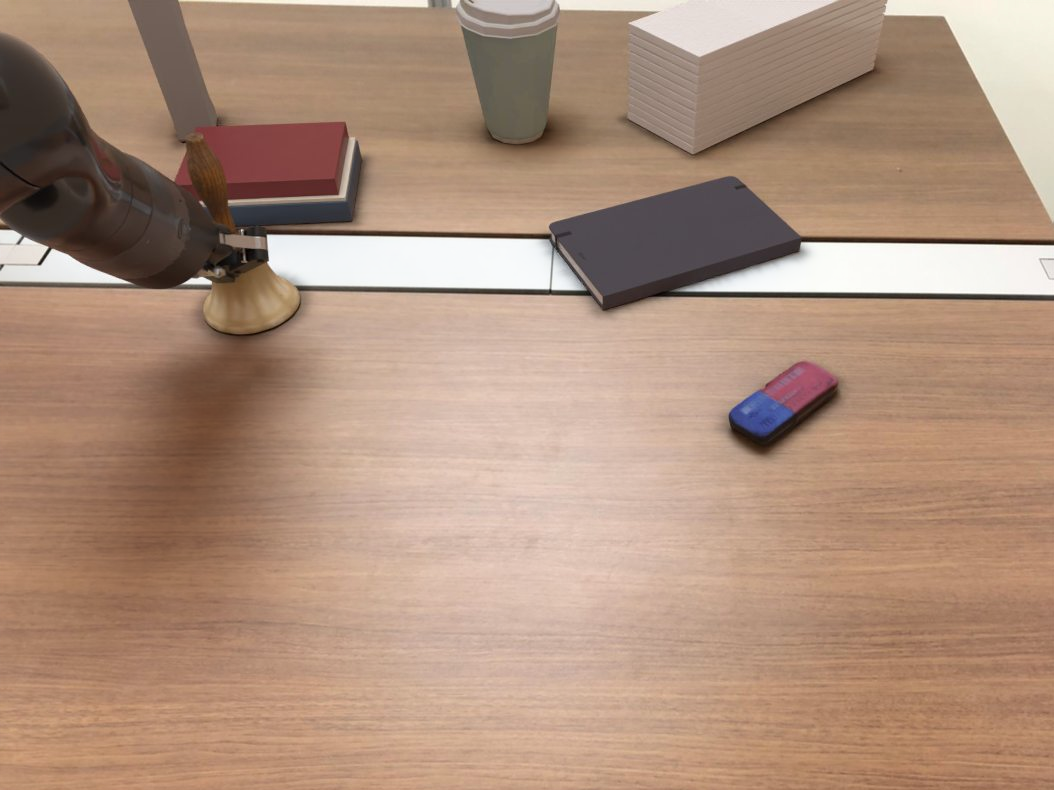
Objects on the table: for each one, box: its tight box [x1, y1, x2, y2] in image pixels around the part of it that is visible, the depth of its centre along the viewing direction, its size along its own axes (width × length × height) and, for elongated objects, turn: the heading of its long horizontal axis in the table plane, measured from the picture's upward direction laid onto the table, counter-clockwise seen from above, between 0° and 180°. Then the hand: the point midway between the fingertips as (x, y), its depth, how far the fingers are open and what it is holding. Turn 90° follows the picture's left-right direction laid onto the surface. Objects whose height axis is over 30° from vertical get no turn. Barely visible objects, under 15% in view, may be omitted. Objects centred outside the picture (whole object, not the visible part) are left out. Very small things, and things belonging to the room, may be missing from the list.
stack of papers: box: [627, 0, 888, 155], centre depth 108 cm, size 32×11×11 cm, turn 133°
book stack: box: [174, 121, 363, 227], centre depth 94 cm, size 12×16×4 cm
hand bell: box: [185, 133, 301, 335], centre depth 77 cm, size 8×8×16 cm
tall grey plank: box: [127, 0, 218, 143], centre depth 94 cm, size 4×5×25 cm
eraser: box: [728, 360, 839, 447], centre depth 75 cm, size 11×4×2 cm, turn 135°
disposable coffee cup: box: [455, 0, 562, 145], centre depth 99 cm, size 11×11×15 cm
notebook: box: [548, 175, 803, 311], centre depth 90 cm, size 13×2×21 cm
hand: (225, 270), depth 78 cm, fingers closed
